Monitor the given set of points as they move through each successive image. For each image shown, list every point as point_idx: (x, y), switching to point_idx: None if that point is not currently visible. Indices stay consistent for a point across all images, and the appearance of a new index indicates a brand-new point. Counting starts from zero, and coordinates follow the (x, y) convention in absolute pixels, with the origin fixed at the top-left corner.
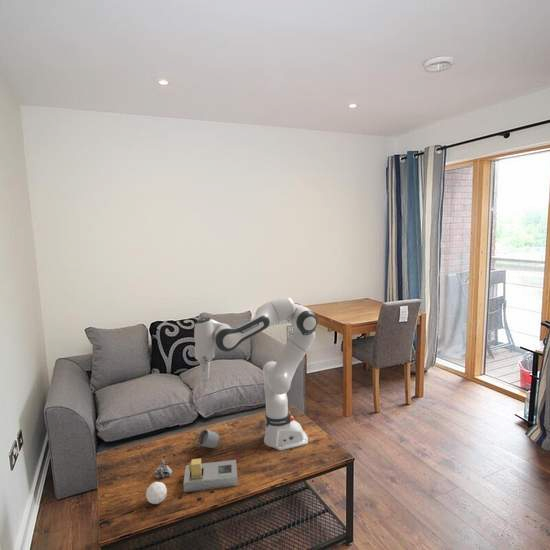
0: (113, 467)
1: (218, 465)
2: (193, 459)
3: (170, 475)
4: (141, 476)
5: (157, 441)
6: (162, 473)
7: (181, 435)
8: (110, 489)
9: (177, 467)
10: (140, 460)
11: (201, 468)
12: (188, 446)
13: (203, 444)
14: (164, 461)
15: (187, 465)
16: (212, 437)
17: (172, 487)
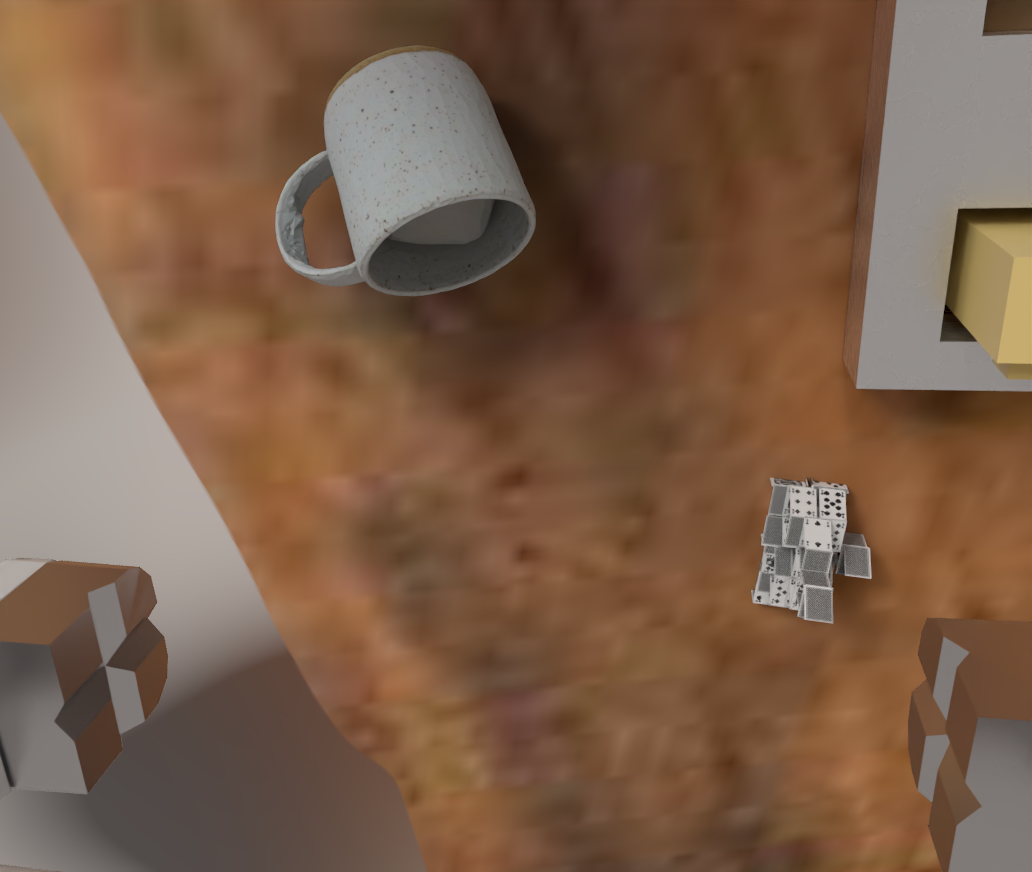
0: (610, 855)
1: (970, 36)
2: (1008, 343)
3: (844, 489)
4: (773, 685)
5: (292, 621)
6: (857, 564)
7: (202, 441)
8: (873, 844)
9: (718, 439)
10: (553, 710)
11: (1003, 232)
12: (393, 368)
13: (532, 234)
14: (810, 591)
15: (862, 373)
16: (476, 135)
17: (1006, 458)
